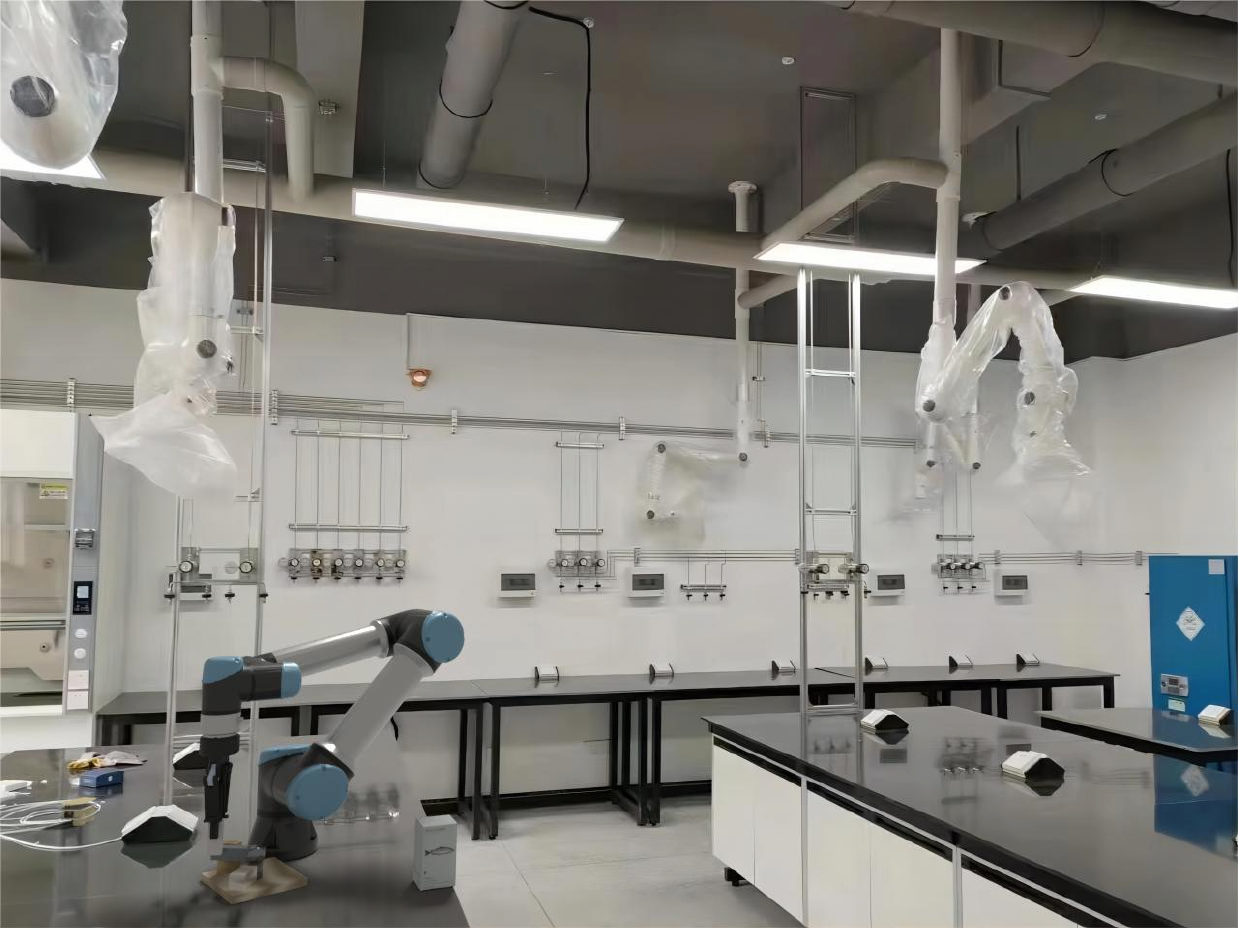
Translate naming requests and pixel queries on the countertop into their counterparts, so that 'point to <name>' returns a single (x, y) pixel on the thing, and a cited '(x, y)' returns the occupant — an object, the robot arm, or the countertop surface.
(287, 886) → the lock plate
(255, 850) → the swing bar
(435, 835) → the supplement box
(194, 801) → the countertop surface
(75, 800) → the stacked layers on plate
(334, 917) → the countertop surface
